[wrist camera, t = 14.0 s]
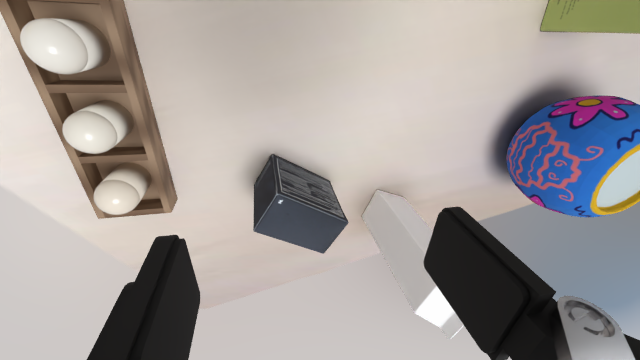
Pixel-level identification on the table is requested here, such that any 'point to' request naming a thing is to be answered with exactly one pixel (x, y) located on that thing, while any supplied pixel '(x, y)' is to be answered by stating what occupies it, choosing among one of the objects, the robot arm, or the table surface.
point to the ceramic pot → (579, 156)
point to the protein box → (592, 16)
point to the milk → (409, 257)
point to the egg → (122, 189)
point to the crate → (100, 97)
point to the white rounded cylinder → (65, 45)
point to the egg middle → (98, 127)
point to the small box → (296, 206)
